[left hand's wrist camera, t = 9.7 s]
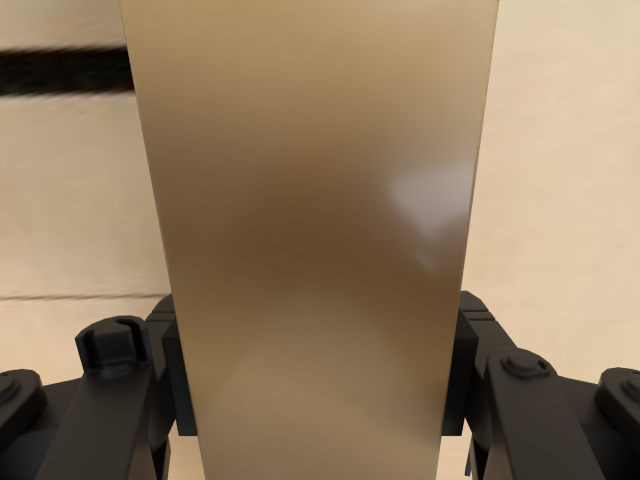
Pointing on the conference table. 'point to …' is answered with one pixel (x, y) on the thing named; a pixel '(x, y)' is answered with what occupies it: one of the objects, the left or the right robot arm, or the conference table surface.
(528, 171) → the conference table surface
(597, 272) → the conference table surface
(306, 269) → the bar
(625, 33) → the conference table surface
